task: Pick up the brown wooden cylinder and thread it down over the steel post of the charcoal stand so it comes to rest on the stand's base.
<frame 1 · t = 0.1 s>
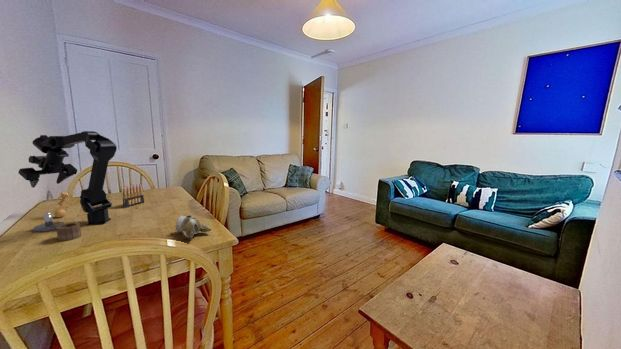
hand: (45, 185, 114), 15 cm above the table, fingers open, 9 cm apart
ammunition clip: (134, 205, 136), on the table
brown wooden cylinder: (70, 237, 94), on the table
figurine: (63, 216, 115), on the table
post stand: (49, 227, 102), on the table
ceramic sculpture: (191, 234, 102), on the table
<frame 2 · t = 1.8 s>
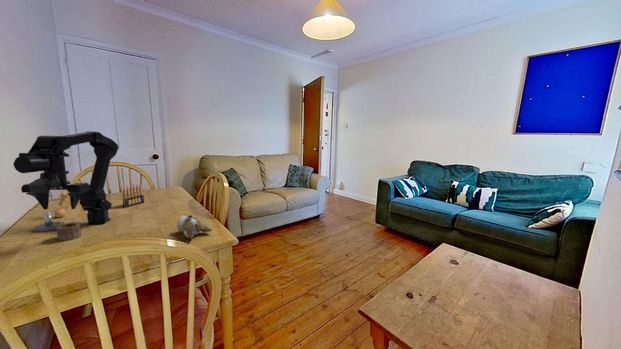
hand: (59, 209, 91), 12 cm above the table, fingers open, 9 cm apart
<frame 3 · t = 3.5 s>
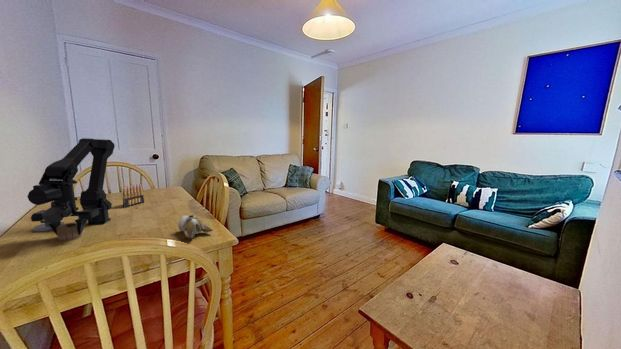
hand: (69, 234, 94), 1 cm above the table, fingers closed on brown wooden cylinder, 6 cm apart
brown wooden cylinder: (70, 237, 94), on the table, touching gripper
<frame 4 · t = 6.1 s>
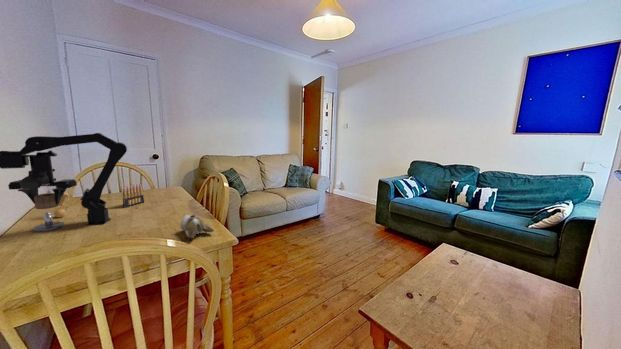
hand: (47, 204, 99), 11 cm above the table, fingers closed on brown wooden cylinder, 6 cm apart
brown wooden cylinder: (47, 206, 99), point 10 cm above the table, touching gripper
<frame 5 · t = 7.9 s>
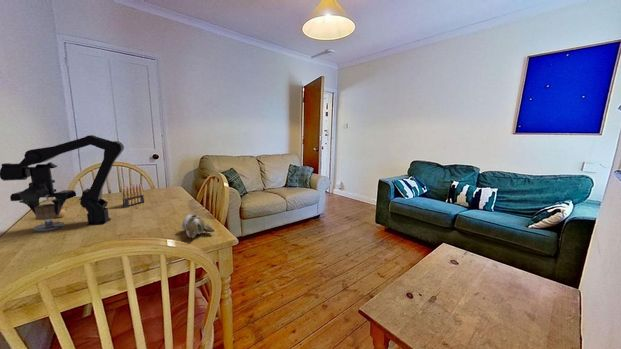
hand: (47, 214, 101), 6 cm above the table, fingers closed on brown wooden cylinder, 6 cm apart
brown wooden cylinder: (47, 217, 101), point 5 cm above the table, touching gripper
when the fingers open (3 cm above the table, at t = 9.0 s): brown wooden cylinder drops 1 cm, resting on post stand.
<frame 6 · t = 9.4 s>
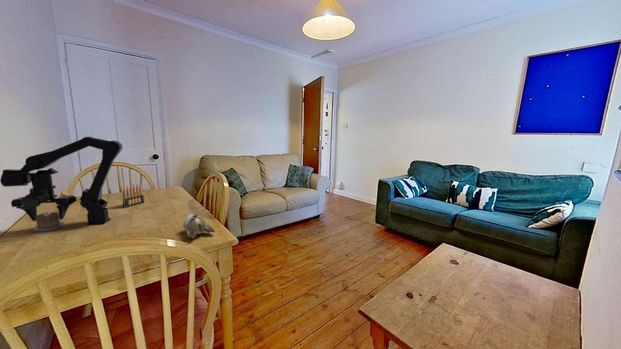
hand: (48, 220, 101), 3 cm above the table, fingers open, 9 cm apart
brown wooden cylinder: (49, 225, 102), point 1 cm above the table, touching post stand
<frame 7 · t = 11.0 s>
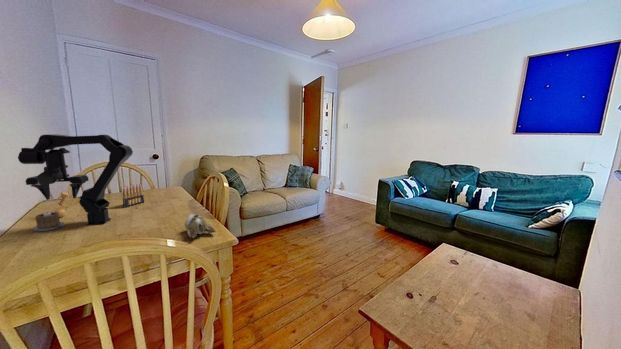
hand: (61, 198, 104), 12 cm above the table, fingers open, 9 cm apart
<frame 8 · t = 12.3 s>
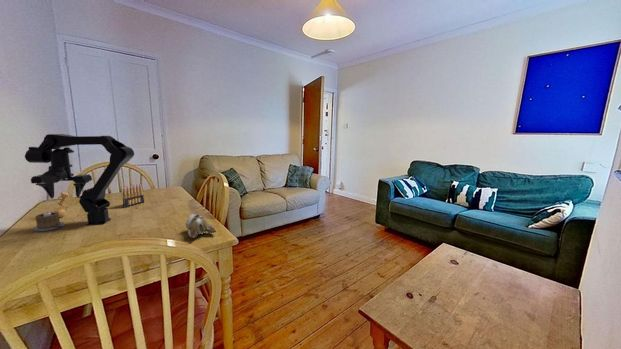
hand: (65, 197, 106), 12 cm above the table, fingers open, 9 cm apart
at the end: brown wooden cylinder 0.1 cm off-centre on the post stand, point 1.0 cm above the post stand's base; brown wooden cylinder tilted 0°; the gripper is holding nothing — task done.
